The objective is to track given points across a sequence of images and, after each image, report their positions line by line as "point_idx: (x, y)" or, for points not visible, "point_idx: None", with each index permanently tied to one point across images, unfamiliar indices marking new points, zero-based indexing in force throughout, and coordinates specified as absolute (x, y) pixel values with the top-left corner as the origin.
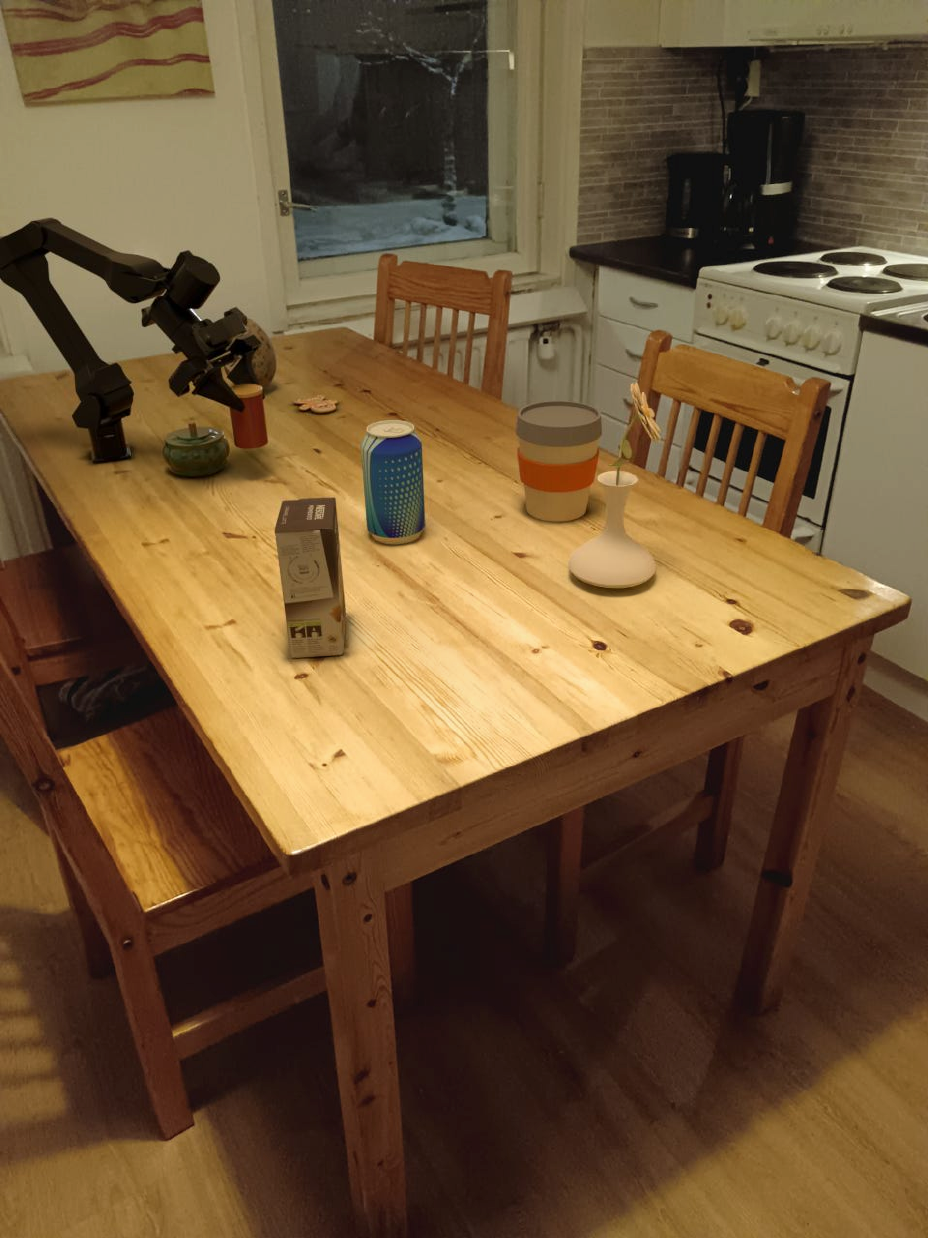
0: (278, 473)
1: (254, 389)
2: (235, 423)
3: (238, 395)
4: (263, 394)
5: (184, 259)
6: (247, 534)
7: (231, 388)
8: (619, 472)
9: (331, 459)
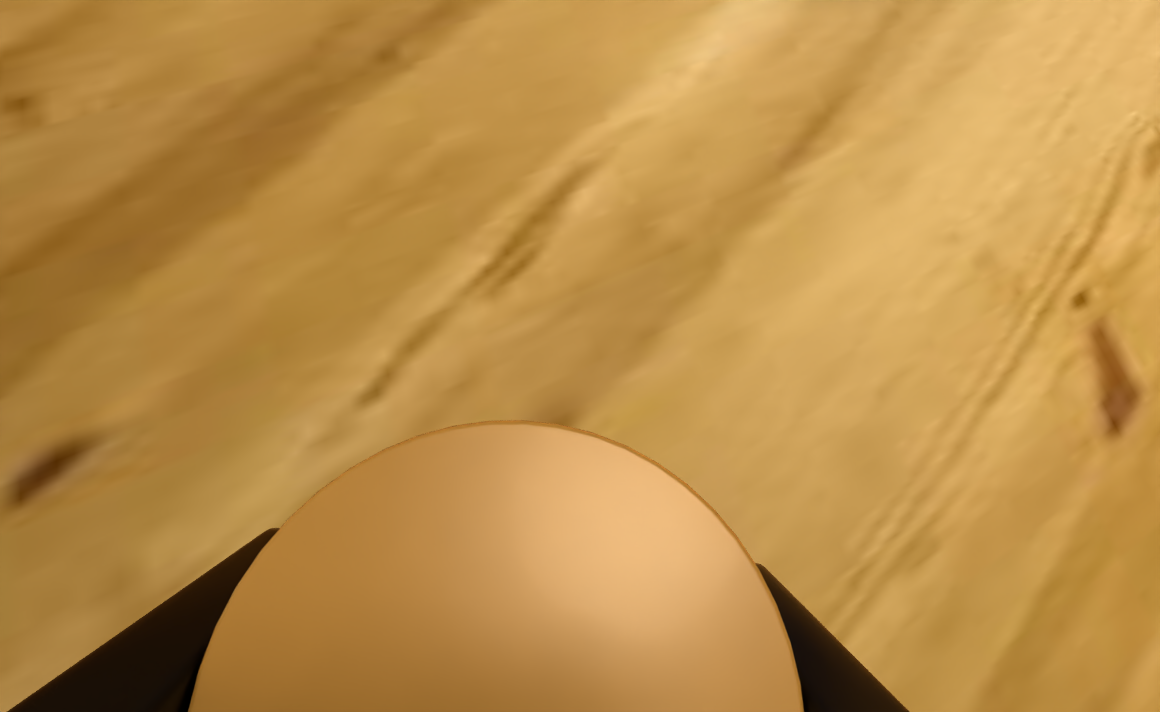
0: None
1: (489, 528)
2: None
3: (787, 654)
4: (264, 545)
5: None
6: (1076, 335)
7: None
8: None
9: (181, 342)
